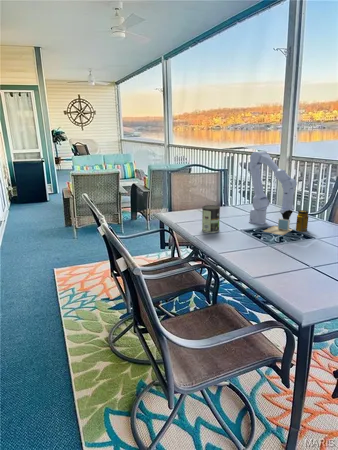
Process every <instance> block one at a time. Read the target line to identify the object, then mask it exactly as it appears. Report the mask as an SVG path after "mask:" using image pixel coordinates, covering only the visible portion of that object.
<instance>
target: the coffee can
mask: <svg viewBox="0 0 338 450" xmlns="http://www.w3.org/2000/svg"><path fill="white" fill-rule="evenodd" d="M201 208H202V214H201V217H202V219H201V231H202V232H204V233H207V234H208V233H209V234H215V233H218V232H219V231H220V216H221V214H220V212H221V207H220V206H218V205H216V204H215V205H213V204H211V205H210V204H209V205H208V204H207V205H203V206H202V207H201Z"/></svg>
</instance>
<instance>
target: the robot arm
mask: <svg viewBox="0 0 338 450" xmlns="http://www.w3.org/2000/svg"><path fill="white" fill-rule="evenodd" d="M249 161H250V162H249V172H250V176H251V182H252V187H253V192H254V196H253V197H252V208H251V209H250V212H249V221H248V223H250V224H258V225H265V224H267V223H268V221H267V209H268V207H269V206H270V200H269V199H268V198H269V197H268V196H267V194H266V193H265V192H264V187H263V182H262V181H263V180H262V175H261V171H260V167H261V166H262V165H263V164H265V165H266V166H267V167H268V168H269V169H271V171H272V172H273V173H274V177H275V178H276V179H277V181H278V182H280V183H281V187H282V192H283V193H282V200H281V201H282V203H281V208H280V209H279V213H280V214H281V216H282V219H288V220H290V219H291V215H292V214H293V213H294V210H295V205H294V196H295V188H296V187H297V184H298V181H296V179H295V178H293V177H291V176H290V175H289V174H288V173H287V171H286V169H283V168H280V167H279V166H278V165H277V164H276V162H275V161H274V160H273V159H272V156H271V154H269V153H268V152H267V151H266V150H262V151H253V152H252V153H251V154H250V156H249Z"/></svg>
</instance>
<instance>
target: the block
mask: <svg viewBox="0 0 338 450" xmlns="http://www.w3.org/2000/svg"><path fill="white" fill-rule="evenodd" d="M290 222H291V219H289V220H288V219H283V217H282V218H278V223H277V227H278V229H283V230H289V229H290V224H291V223H290Z"/></svg>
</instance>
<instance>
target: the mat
mask: <svg viewBox="0 0 338 450" xmlns="http://www.w3.org/2000/svg"><path fill="white" fill-rule="evenodd" d="M291 231H293V229H292V228H289V230H283V229H278V225H272V226H270V227H268V228H266V229H263V232H264V233H270V234H273V235H279V236H284V235H287V233H289V232H291Z"/></svg>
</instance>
